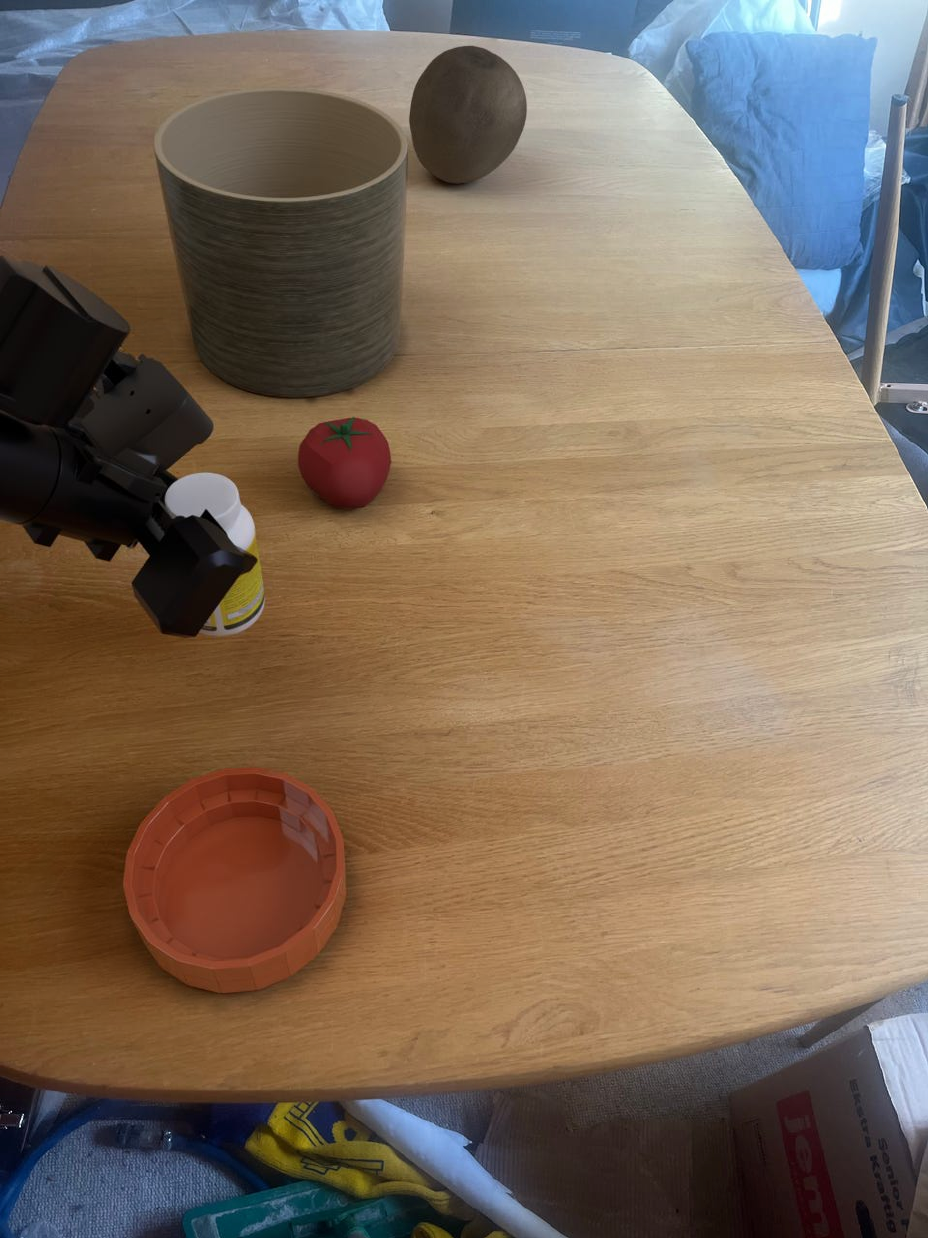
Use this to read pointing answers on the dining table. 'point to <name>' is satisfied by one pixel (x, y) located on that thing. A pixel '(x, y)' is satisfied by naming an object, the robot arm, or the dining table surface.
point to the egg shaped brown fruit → (466, 114)
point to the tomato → (345, 461)
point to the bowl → (236, 879)
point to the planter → (287, 235)
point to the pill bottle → (237, 522)
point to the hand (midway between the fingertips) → (229, 536)
